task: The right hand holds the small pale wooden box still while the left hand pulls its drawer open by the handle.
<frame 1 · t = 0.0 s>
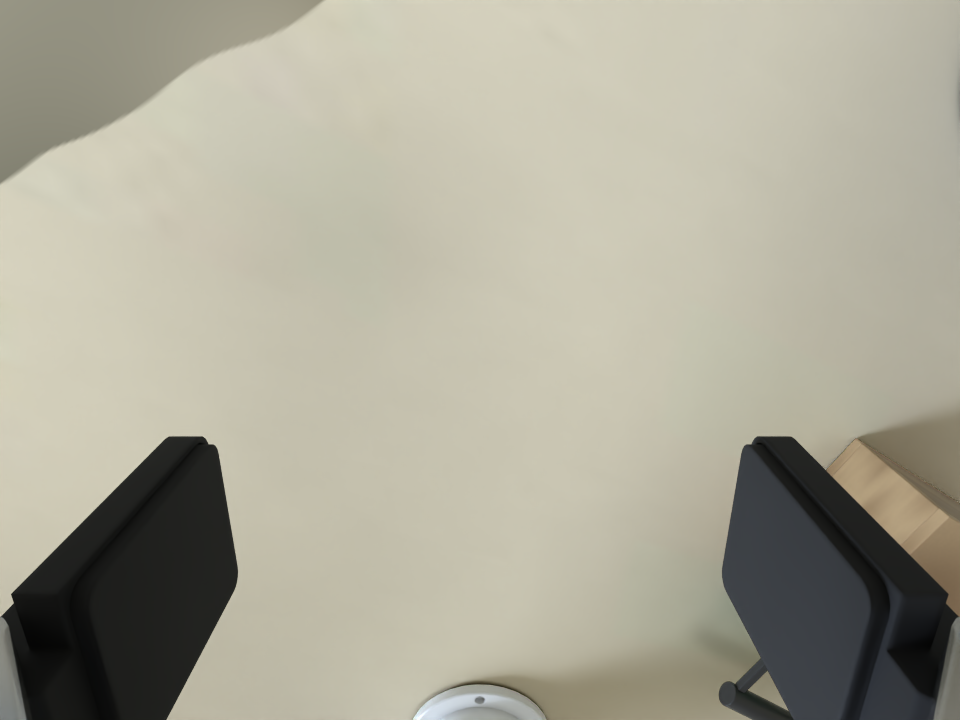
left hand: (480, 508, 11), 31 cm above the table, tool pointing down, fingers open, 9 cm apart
pale wooden box: (848, 533, 49), on the table
drawer: (829, 630, 46), point 5 cm above the table, slide at 1.1 cm
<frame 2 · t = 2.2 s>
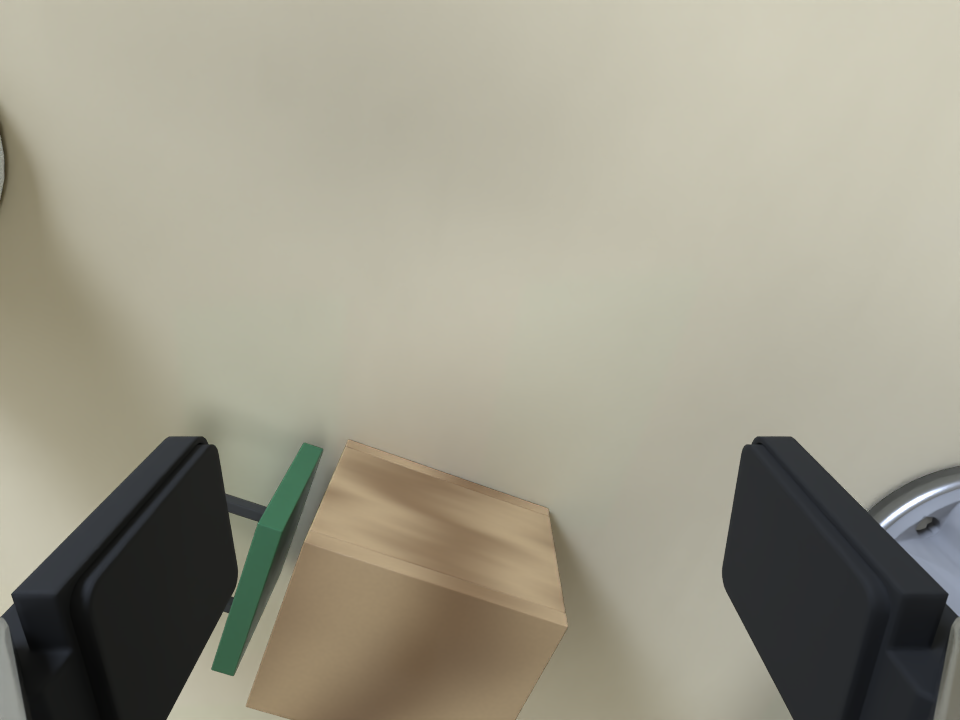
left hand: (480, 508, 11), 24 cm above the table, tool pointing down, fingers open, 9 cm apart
pale wooden box: (420, 542, 40), on the table
drawer: (313, 565, 34), point 5 cm above the table, slide at 1.1 cm
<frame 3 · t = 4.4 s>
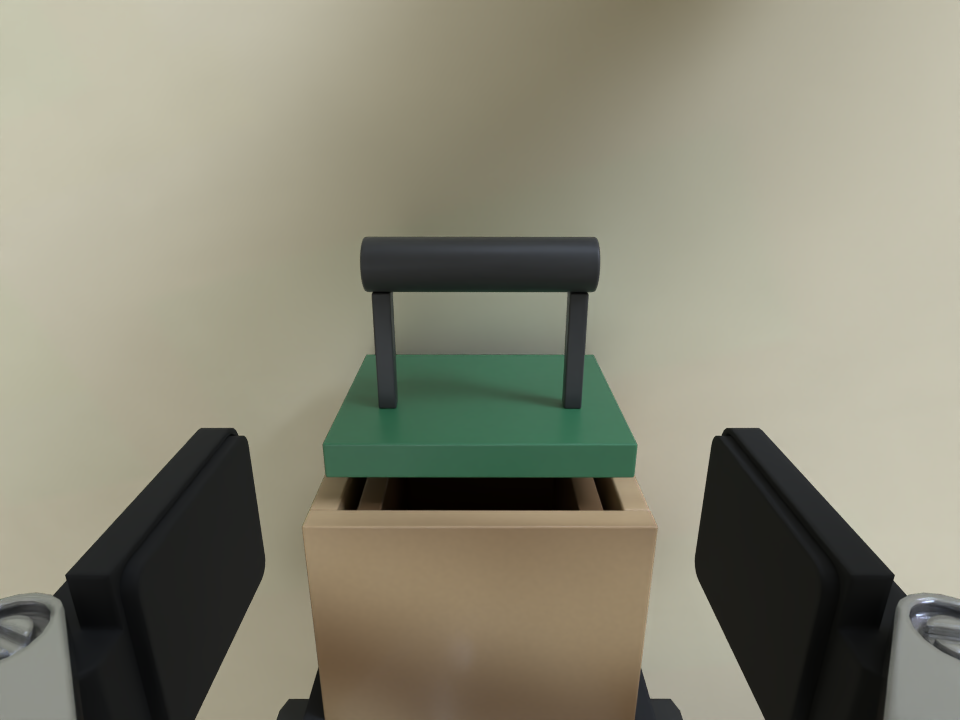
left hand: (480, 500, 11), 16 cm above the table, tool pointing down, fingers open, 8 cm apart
pale wooden box: (479, 517, 30), on the table, touching right hand
drawer: (479, 464, 24), point 5 cm above the table, slide at 1.1 cm
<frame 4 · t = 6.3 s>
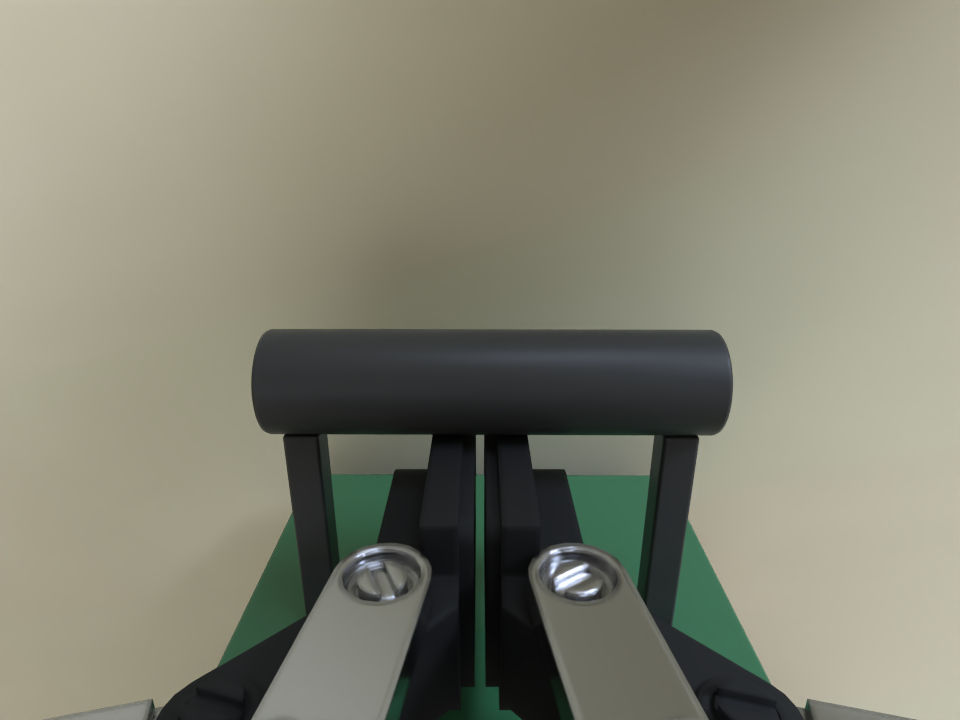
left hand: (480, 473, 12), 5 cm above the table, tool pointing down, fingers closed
drawer: (488, 681, 14), point 5 cm above the table, slide at 1.1 cm, touching left hand
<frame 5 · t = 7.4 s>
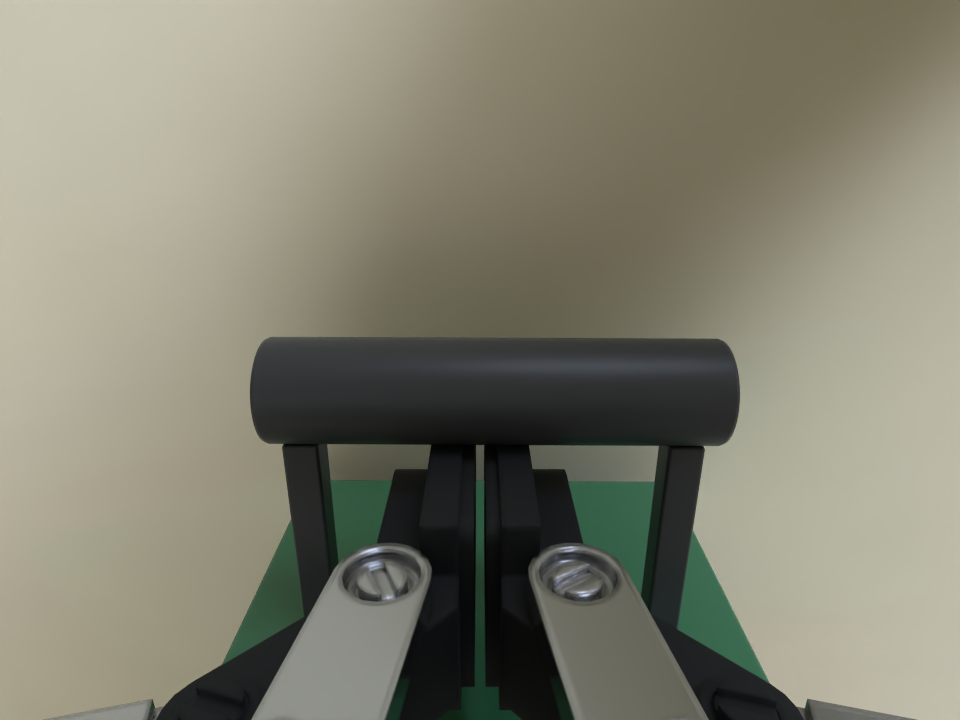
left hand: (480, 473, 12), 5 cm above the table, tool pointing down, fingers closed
drawer: (489, 690, 14), point 5 cm above the table, slide at 5.9 cm, touching left hand
when the right hand's fingers open (5 cm above the table, at t = 9.3 s): pale wooden box stays where it is, on the table.
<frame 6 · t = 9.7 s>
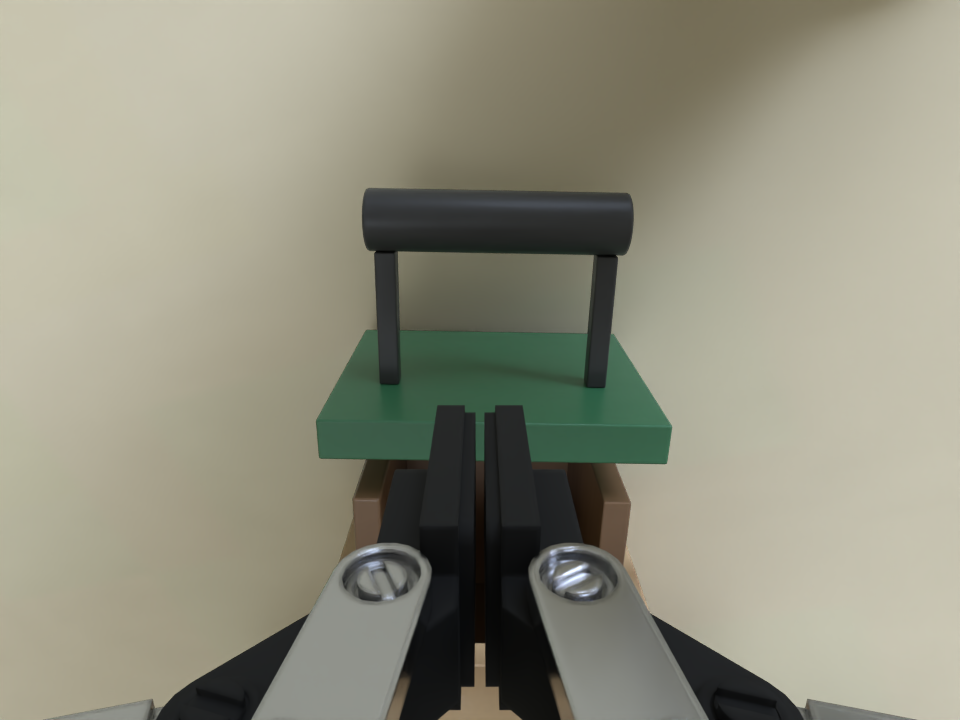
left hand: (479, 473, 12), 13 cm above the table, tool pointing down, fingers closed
pale wooden box: (482, 603, 30), on the table
drawer: (489, 450, 22), point 5 cm above the table, slide at 6.3 cm
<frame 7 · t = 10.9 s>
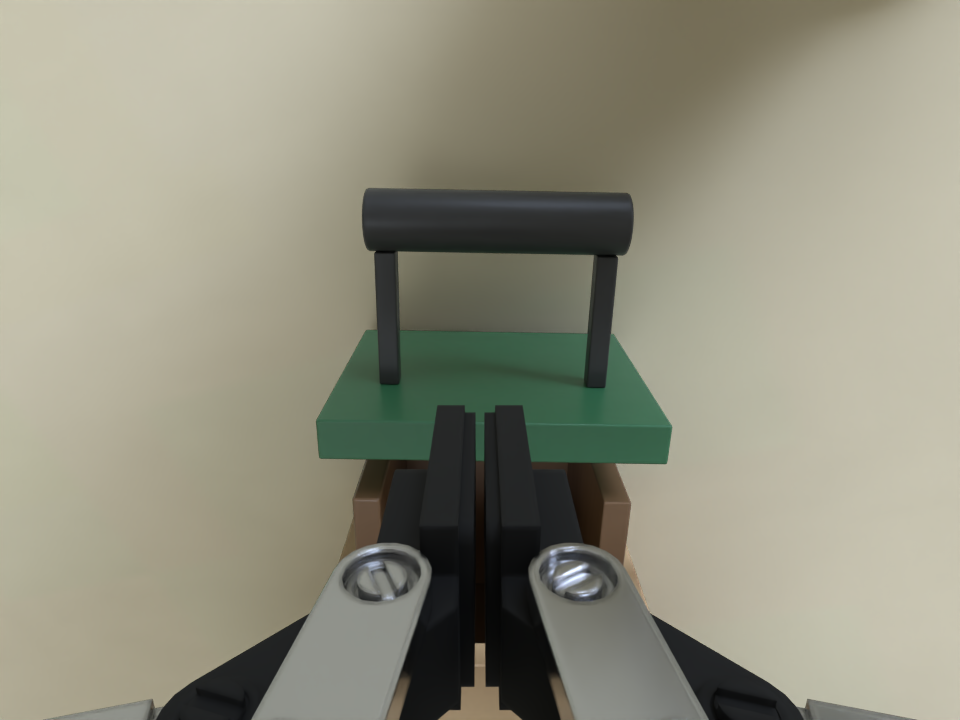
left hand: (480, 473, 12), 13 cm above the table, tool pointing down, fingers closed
pale wooden box: (482, 603, 30), on the table
drawer: (489, 450, 22), point 5 cm above the table, slide at 6.3 cm
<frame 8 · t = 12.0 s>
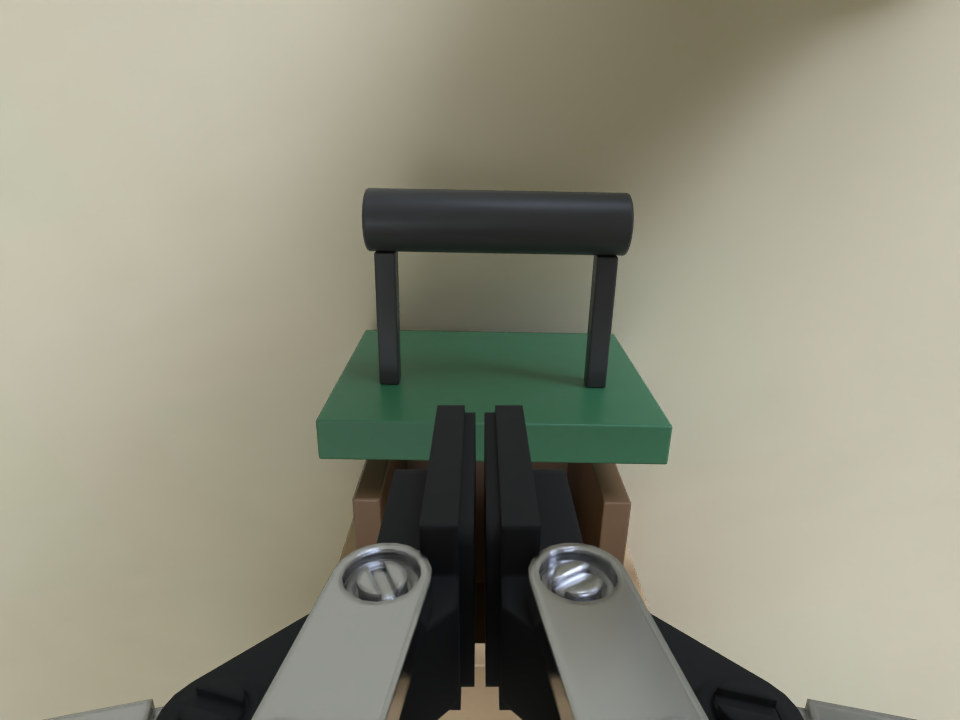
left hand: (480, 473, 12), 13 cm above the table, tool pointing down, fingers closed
pale wooden box: (482, 603, 30), on the table
drawer: (489, 450, 22), point 5 cm above the table, slide at 6.3 cm
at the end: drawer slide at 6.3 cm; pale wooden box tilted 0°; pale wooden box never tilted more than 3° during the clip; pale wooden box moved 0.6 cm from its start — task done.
